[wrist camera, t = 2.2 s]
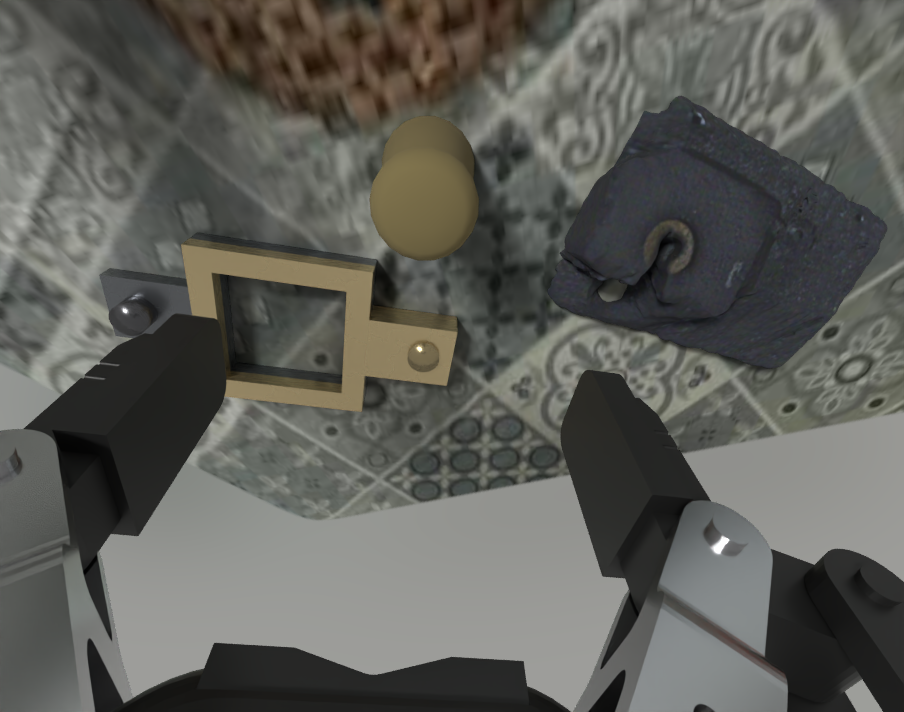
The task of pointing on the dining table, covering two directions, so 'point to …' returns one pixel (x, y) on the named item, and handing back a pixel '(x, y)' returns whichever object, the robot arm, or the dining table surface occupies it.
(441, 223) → the brown rounded peg
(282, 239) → the dining table surface
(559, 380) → the dining table surface
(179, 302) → the chain end
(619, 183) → the crumpled black pouch
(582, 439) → the robot arm
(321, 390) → the chain end
